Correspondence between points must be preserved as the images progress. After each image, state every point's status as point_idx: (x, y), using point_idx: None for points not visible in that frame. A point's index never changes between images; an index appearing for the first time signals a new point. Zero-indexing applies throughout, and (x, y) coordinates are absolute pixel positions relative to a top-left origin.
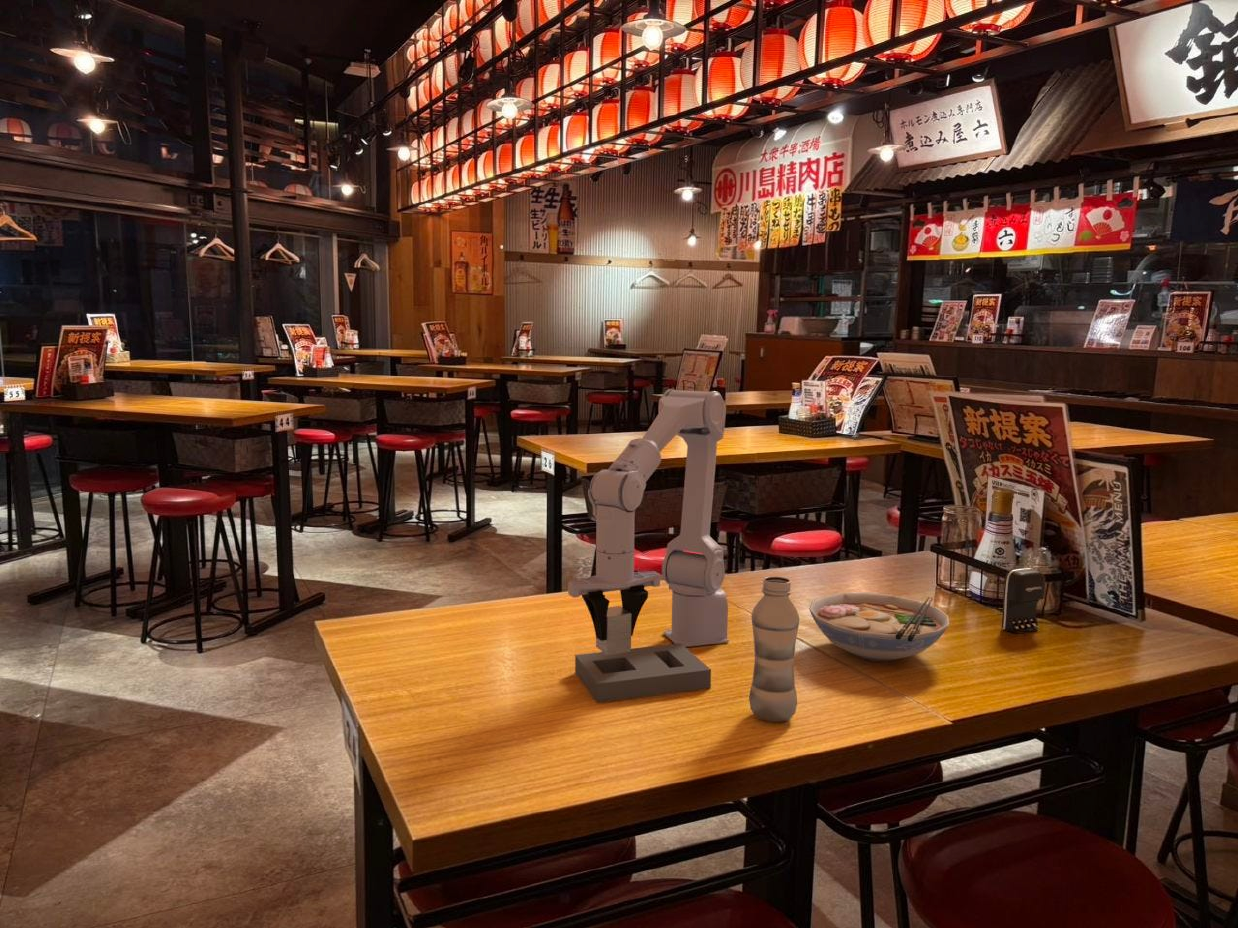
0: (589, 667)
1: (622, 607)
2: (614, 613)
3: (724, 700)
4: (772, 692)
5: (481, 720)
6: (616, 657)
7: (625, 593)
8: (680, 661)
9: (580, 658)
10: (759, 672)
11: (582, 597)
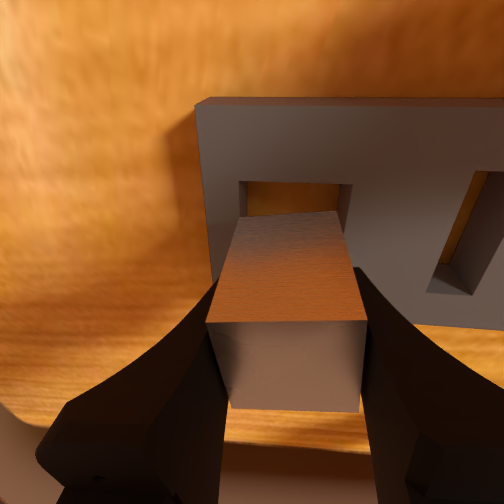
0: (218, 223)
1: (371, 335)
2: (279, 391)
3: (462, 342)
4: None
5: (14, 271)
6: (325, 176)
7: (397, 467)
8: (489, 267)
9: (206, 146)
10: None
11: (76, 399)
